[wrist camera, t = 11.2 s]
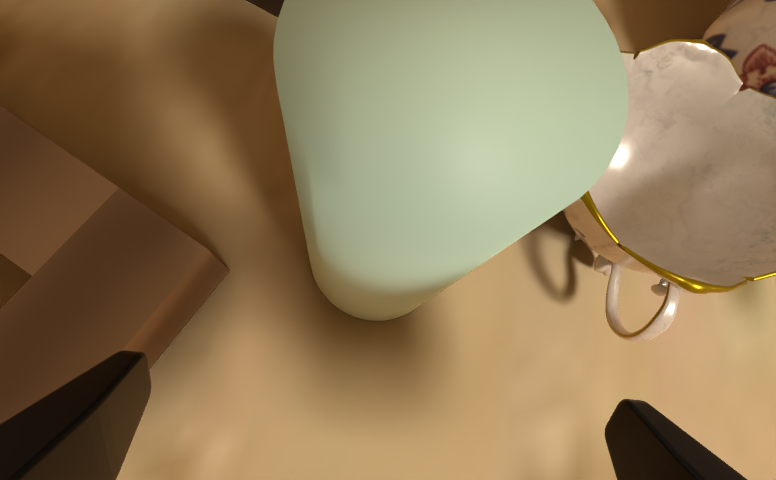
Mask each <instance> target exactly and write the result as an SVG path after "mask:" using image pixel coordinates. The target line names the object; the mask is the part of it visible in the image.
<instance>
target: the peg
mask: <svg viewBox="0 0 776 480" xmlns="http://www.w3.org/2000/svg"><path fill="white" fill-rule="evenodd" d="M273 65H274V72H275V79H276V85H277V91H278V96H279V101H280V106H281V112H282V117H283V122H284V128H285V133H286V138H287V143H288V149H289V154H290V159H291V165H292V170H293V175H294V180H295V186H296V191H297V196H298V202H299V207H300V212H301V217H302V223H303V228H304V233H305V238H306V244H307V249H308V254H309V260H310V265H311V270H312V273H313V277H314V279H315V281H316V283H317V286H318V287H319V289H320V290H321V292H322V293H323V295H324V296H325V297H326V298H327V299H328V300H329V301H330V302H331V303H332V304H333V305H334V306H335V307H337V308H338V309H340V310H341V311H343V312H345V313H346V314H348V315H351V316H353V317H356V318H359V319H364V320H370V321H385V320H391V319H395V318H398V317H401V316H403V315H406V314H408V313H410V312H411V311H413V310H414V309H416V308H417V307H419V306H420V305H422V304H423V303H425V302H426V301H428V300H429V299H431V298H432V297H434V296H435V295H437V294H438V293H440V292H441V291H443V290H444V289H446V288H447V287H448V286H450V285H451V284H453V283H454V282H456V281H457V280H459V279H460V278H462V277H463V276H465V275H466V274H468V273H469V272H471V271H472V270H474V269H475V268H477V267H478V266H480V265H481V264H483V263H484V262H486V261H487V260H489V259H490V258H492V257H493V256H495V255H496V254H498V253H499V252H501V251H502V250H504V249H505V248H506V247H508V246H509V245H511V244H512V243H514V242H515V241H517V240H518V239H520V238H521V237H523V236H524V235H526V234H527V233H529V232H530V231H532V230H533V229H535V228H536V227H538V226H539V225H541V224H542V223H544V222H545V221H547V220H548V219H550V218H551V217H553V216H554V215H556V214H557V213H559V212H560V211H562V210H563V209H564V208H566V207H567V206H569V205H570V204H572V203H573V202H575V201H576V200H578V199H579V198H580V197H581V196H583V195H584V194H585V193H586V192H587V191H588V190H589V189H590V188H591V187H592V186H593V185H595V183H596V182H597V181H598V180H599V178H600V177H601V176H602V174H603V173H604V172H605V171H606V169H607V168H608V166H609V165H610V163H611V161H612V159H613V157H614V156H615V154H616V152H617V150H618V147H619V144H620V142H621V139H622V136H623V133H624V129H625V124H626V119H627V114H628V85H627V75H626V71H625V67H624V62H623V58H622V55H621V52H620V49H619V47H618V44H617V42H616V39H615V36H614V35H613V33H612V31H611V29H610V27H609V25H608V23H607V21H606V19H605V18H604V16H603V15H602V13H601V12H600V11H599V9H598V8H597V6H596V5H595V3H594V2H593V1H592V0H285V1H284V3H283V6H282V9H281V11H280V14H279V17H278V20H277V25H276V30H275V36H274V43H273Z"/></svg>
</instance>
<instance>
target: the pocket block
mask: <svg viewBox="0 0 776 480" xmlns="http://www.w3.org/2000/svg"><path fill="white" fill-rule="evenodd" d="M0 253H1V254H2V255H3V256H5V257H6V258H8V259H9V260H10V261H12V262H13V263H15V264H16V265H17V266H19V267H20V268H22V269H23V270H24V271H26V272H27V273H29V274H30V275H31V276H32V277H31V278H30V279H29V280H28V281H27V282H26V283H25V284H24V285H23V286H22V287H21V288H20V289H19V290H18V291H17V292H16V293H15V294H14V295H13V296H12V297H11V298H10V299H9V300H8V301H7V302H6V303H5V304H4V305H3V306H2V307H1V308H0V424H1V423H3V422H4V421H6V420H8V419H9V418H11V417H13V416H14V415H16V414H17V413H19V412H21V411H22V410H24V409H26V408H27V407H29V406H30V405H32V404H34V403H35V402H37V401H39V400H40V399H42V398H43V397H45V396H47V395H48V394H50V393H52V392H53V391H55V390H56V389H58V388H60V387H61V386H63V385H65V384H66V383H68V382H69V381H71V380H73V379H74V378H76V377H78V376H79V375H81V374H82V373H84V372H86V371H87V370H89V369H91V368H92V367H94V366H95V365H97V364H99V363H100V362H102V361H104V360H105V359H107V358H108V357H110V356H112V355H113V354H115V353H117V352H119V351H123V350H126V351H136V352H143V353H145V354H146V355H147V358H148V364H149V369H150V368H151V366H152V365H153V364H154V363H155V362H156V360H157V359H158V358H159V357H160V355H161V354H162V353H163V352H164V350H165V349H166V348H167V347H168V346H169V344H170V343H171V342H172V341H173V339H174V338H175V337H176V336H177V334H178V333H179V332H180V331H181V330H182V328H183V327H184V326H185V325H186V323H187V322H188V321H189V320H190V319H191V317H192V316H193V315H194V314H195V312H196V311H197V310H198V309H199V307H200V306H201V305H202V304H203V303H204V301H205V300H206V299H207V298H208V296H209V295H210V294H211V293H212V292H213V290H214V289H215V288H216V287H217V285H218V284H219V283H220V282H221V280H222V279H223V278H224V277H225V276H226V274H227V273H228V272H229V271H230V270H229V269H228V268H227V267H226V266H225V265H224V264H223V263H222V262H221V261H220V260H218V259H217V258H216V257H215V256H214V255H213V254H212V253H211V252H210V251H209V250H208V249H207V248H205V247H204V246H203V245H201V244H200V243H198V242H197V241H195V240H194V239H192V238H191V237H190V236H188V235H187V234H185V233H184V232H182V231H181V230H179V229H178V228H177V227H175V226H174V225H172V224H171V223H169V222H168V221H166V220H165V219H164V218H162V217H161V216H159V215H158V214H156V213H155V212H153V211H152V210H151V209H149V208H148V207H146V206H145V205H143V204H142V203H141V202H139V201H138V200H136V199H135V198H133V197H132V196H130V195H129V194H128V193H126V192H125V191H123V190H122V189H120V188H119V187H117V186H116V185H115V184H113V183H112V182H110V181H109V180H107V179H106V178H104V177H103V176H102V175H100V174H99V173H97V172H96V171H94V170H93V169H91V168H90V167H89V166H87V165H86V164H84V163H83V162H81V161H80V160H78V159H77V158H76V157H74V156H73V155H71V154H70V153H68V152H67V151H65V150H64V149H63V148H61V147H60V146H58V145H57V144H55V143H54V142H52V141H51V140H50V139H48V138H47V137H45V136H44V135H42V134H41V133H39V132H38V131H37V130H35V129H34V128H32V127H31V126H29V125H28V124H26V123H25V122H24V121H22V120H21V119H19V118H18V117H16V116H15V115H13V114H12V113H11V112H9V111H8V110H6V109H5V108H3V107H2V106H1V105H0Z"/></svg>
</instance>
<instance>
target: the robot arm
mask: <svg viewBox="0 0 776 480" xmlns="http://www.w3.org/2000/svg"><path fill="white" fill-rule="evenodd" d="M150 393H151V379H150V372H149V364H148V358H147V355H146V354H145V353H143V352H136V351H126V350H123V351H119V352H117V353H115V354H113V355H112V356H110V357H108V358H107V359H105V360H104V361H102V362H100V363H99V364H97V365H95V366H94V367H92V368H91V369H89V370H87V371H86V372H84V373H82V374H81V375H79V376H78V377H76V378H74V379H73V380H71V381H69V382H68V383H66V384H65V385H63V386H61V387H60V388H58V389H56V390H55V391H53V392H52V393H50V394H48V395H47V396H45V397H43V398H42V399H40V400H39V401H37V402H35V403H34V404H32V405H30V406H29V407H27V408H26V409H24V410H22V411H21V412H19V413H17V414H16V415H14V416H13V417H11V418H9V419H8V420H6V421H4V422H3V423H1V424H0V480H116V478H117V476H118V474H119V471H120V469H121V466H122V464H123V462H124V459H125V457H126V454H127V452H128V449H129V447H130V444H131V442H132V439H133V437H134V434H135V432H136V429H137V427H138V424H139V422H140V420H141V417H142V415H143V412H144V410H145V407H146V405H147V402H148V400H149V397H150ZM605 439H606V443H607V446H608V450H609V453H610V457H611V460H612V463H613V467H614V470H615V474H616V477H617V480H747V479H746V478H745V477H743V476H742V475H741V474H739V473H738V472H737V471H735V470H734V469H733V468H731V467H730V466H729V465H728V464H726V463H725V462H724V461H722V460H721V459H720V458H718V457H717V456H716V455H715V454H713V453H712V452H711V451H709V450H708V449H707V448H705V447H704V446H703V445H702V444H700V443H699V442H698V441H696V440H695V439H694V438H692V437H691V436H690V435H688V434H687V433H686V432H685V431H683V430H682V429H681V428H679V427H678V426H677V425H675V424H674V423H673V422H672V421H670V420H669V419H668V418H666V417H665V416H664V415H662V414H661V413H660V412H658V411H657V410H656V409H655V408H653V407H652V406H651V405H649V404H648V403H647V402H644V401H641V400H631V399H623V400H622V401H620V402H619V404H618V405H617V407H616V409H615V411H614V412H613V414H612V416H611V418H610V419H609V421H608V423H607V425H606V428H605Z"/></svg>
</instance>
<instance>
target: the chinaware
mask: <svg viewBox="0 0 776 480" xmlns="http://www.w3.org/2000/svg"><path fill="white" fill-rule="evenodd" d="M620 52H621V55H622V58H623V62H624V67H625V71H626V75H627V85H628V114H627V119H626V124H625V129H624V133H623V136H622V139H621V142H620V144H619V147H618V150H617V152H616V154H615V156H614V157H613V159H612V161H611V163H610V165H609V166H608V168H607V169H606V171H605V172H604V173H603V174H602V176H601V177H600V178H599V180H598V181H597V182H596V183H595V185H593V186H592V187H591V188H590V189H589V190H588V191H587V192H586V193H585V194H584V195H583V196H581V197H580V198H579V199H578V200H576V201H575V202H573V203H572V204H570V205H569V206H567V207H566V208H564V209H563V210H562V211H563V213H564V215H565V217H566V219H567V221H568V222H569V224H570V226H571V227H572V229H573V230H574V231H575V233H576V235H575V240H580V239H581V240H582V241H583V242H584V243H585V244H586V245H588V246H589V248H591V249H592V250H594V251H595V252H596V253H598V254H599V256H598V257H597V258H596V259H595V261H594V265H593V266H594V269H595V270H596V271H599V272H600V273H603V274H604V275H606V276H609V275H610V278H609V282H608V287H607V293H606V317H607V321H608V323H609V326H610V327H611V329H612V330H613V332H614V333H615V334H616V335H618V336H619V337H621V338H623V339H625V340H629V341H634V342H642V341H647V340H650V339H653V338H655V337H656V336H658V335H660V334H661V333H662V332H664V331H665V330H666V329H667V328H668V327H669V326H670V325H671V323H672V322H673V320H674V318H675V315H676V312H677V307H678V302H679V290H681V291H683V292H686V293H690V294H695V295H704V294H707V293H720V292H728V291H731V290H734V289H736V288H738V287H740V286H742V285H745V284H746V283H747V280H748V281H756V280H760V279H764V278H768V277H771V276H775V275H776V0H731V1H730V3H729V4H728V6H727V7H726V9H725V10H724V11H723V13H722V14H721V15H720V17H719V18H718V19H717V20H715V21H714V22H713V23H712V24H711V25H710V27H709V28H708V29H707V30H706V32H705V33H704V36H703V38H702V39H669V40H665V41H662V42H659V43H657V44H655V45H652V46H650V47H647V48H644V49H641V50H639V51H637V53H636V54H635V56H634V54H633V52H627V51H621V50H620ZM620 266H623V267H626V268H628V269H631V270H634V271H638V272H643V273H648V274H654V275H658V276H659V277H661V278H662V279H661V281H660V283H659V284H657V285H653V286H652V287H651V290H652V292H654V293H655V294H656V295H658V296H665V299H664V301H663V304H662V306H661V307H660V309H659V310H658V312H657V313H656V314H655V316H654V317H653V318H652V319H651V320H650V321H649V323H648V324H647V325H645V326H644V327H643V328H642V329H640V330H638V331H636V332H633V333H630V332H628V331H627V330H626V329H625V328H624V327H623V325H622V323H621V321H620V318H619V313H618V292H619V285H620V279H621V267H620Z"/></svg>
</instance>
